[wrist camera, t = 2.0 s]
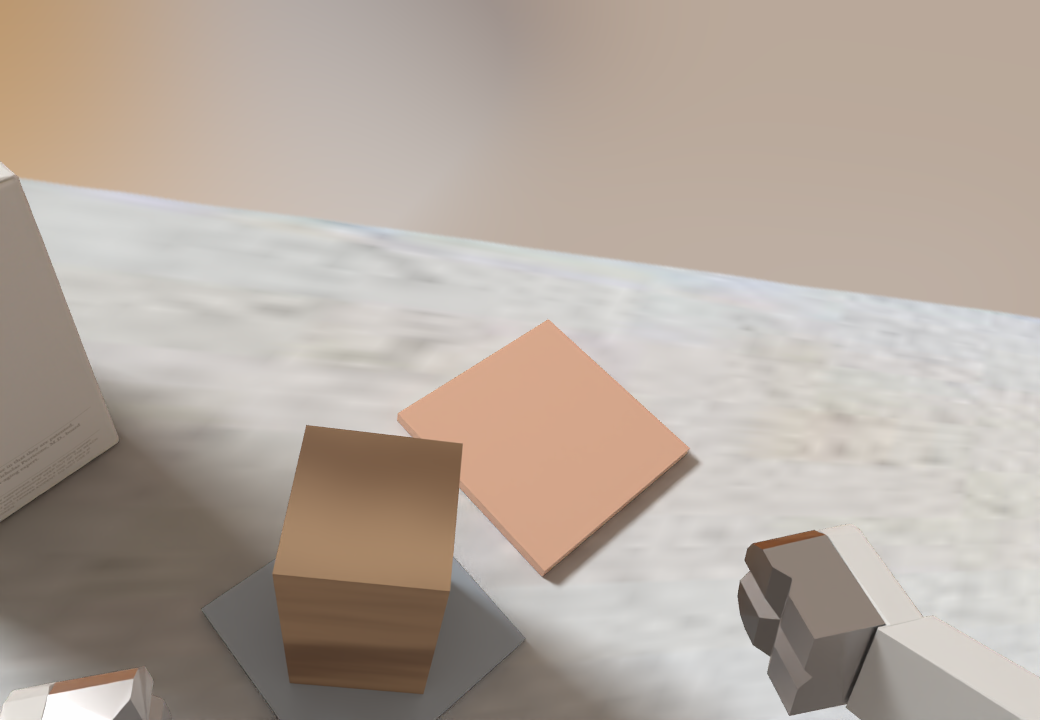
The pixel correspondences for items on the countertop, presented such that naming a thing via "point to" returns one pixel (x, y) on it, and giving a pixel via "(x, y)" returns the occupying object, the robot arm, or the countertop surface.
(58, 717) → the robot arm
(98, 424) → the supplement box
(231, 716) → the countertop surface
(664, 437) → the pad
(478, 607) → the grey square tile
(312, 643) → the walnut block
